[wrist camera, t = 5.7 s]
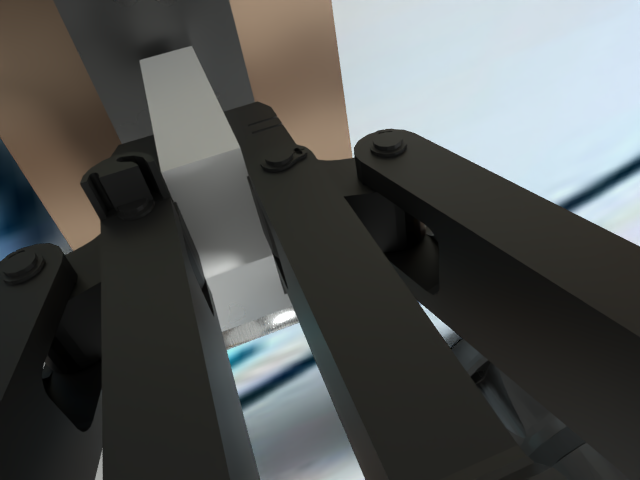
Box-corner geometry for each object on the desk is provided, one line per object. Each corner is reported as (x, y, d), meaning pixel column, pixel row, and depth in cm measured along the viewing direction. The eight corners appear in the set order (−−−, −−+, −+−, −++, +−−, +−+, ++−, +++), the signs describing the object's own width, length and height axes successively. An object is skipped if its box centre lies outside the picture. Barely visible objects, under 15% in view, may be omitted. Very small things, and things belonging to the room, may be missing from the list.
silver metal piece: (301, 302, 26) (311, 326, 25) (218, 333, 25) (224, 359, 24) (189, -124, 14) (199, -118, 13) (23, -87, 13) (16, -76, 12)
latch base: (348, 247, 29) (389, 313, 25) (141, 321, 27) (149, 405, 23) (256, -316, 15) (317, -377, 11) (-194, -240, 13) (-328, -279, 9)
